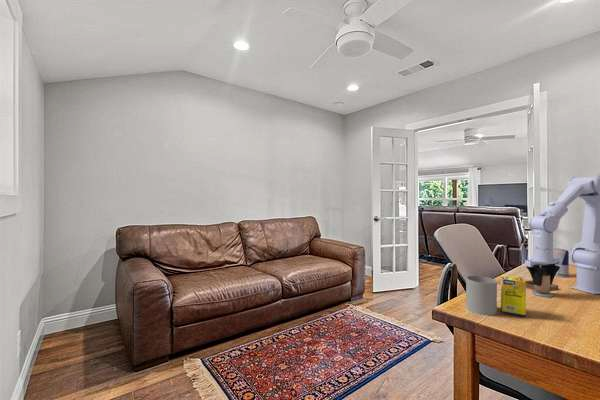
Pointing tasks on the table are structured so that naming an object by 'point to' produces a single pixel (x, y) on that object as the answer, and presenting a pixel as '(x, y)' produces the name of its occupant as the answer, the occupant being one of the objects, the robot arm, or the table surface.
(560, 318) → the table surface
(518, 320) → the table surface
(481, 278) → the cup
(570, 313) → the table surface
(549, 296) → the glossy gray dome
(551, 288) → the frame
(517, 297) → the supplement box
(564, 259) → the energy drink
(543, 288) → the clay pot
